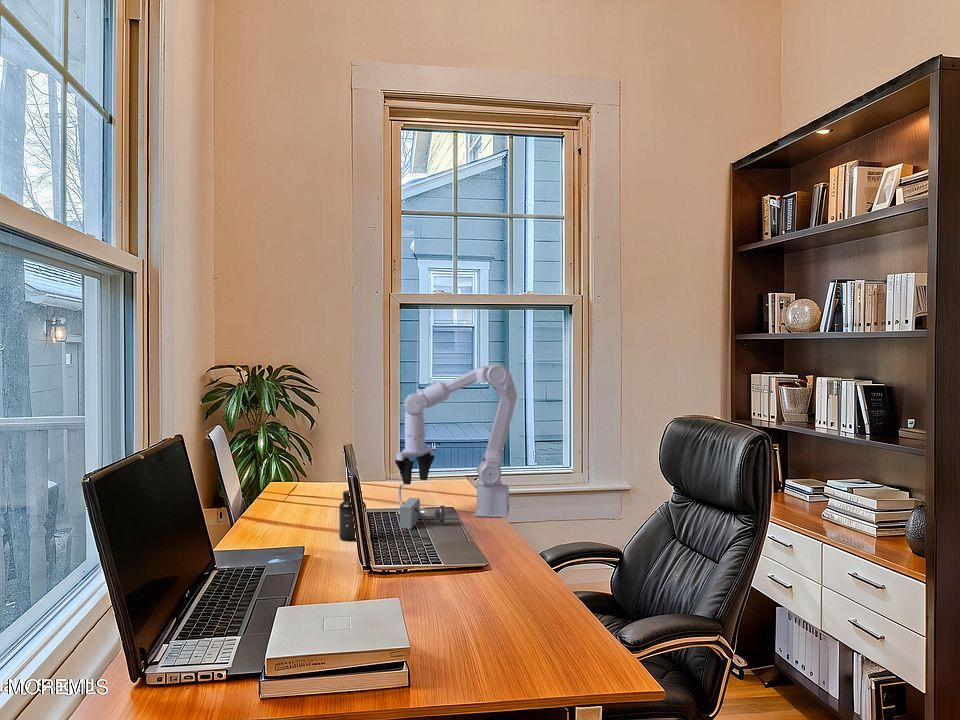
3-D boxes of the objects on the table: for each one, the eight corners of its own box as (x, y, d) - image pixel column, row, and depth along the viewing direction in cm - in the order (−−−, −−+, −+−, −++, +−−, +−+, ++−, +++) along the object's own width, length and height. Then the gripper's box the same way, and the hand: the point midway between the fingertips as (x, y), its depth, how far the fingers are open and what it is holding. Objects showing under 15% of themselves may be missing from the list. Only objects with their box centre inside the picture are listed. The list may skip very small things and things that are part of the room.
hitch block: (419, 519, 208) (419, 498, 208) (410, 529, 196) (410, 507, 196) (409, 518, 209) (409, 497, 209) (399, 529, 197) (399, 507, 197)
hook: (413, 501, 233) (431, 524, 214) (384, 503, 229) (400, 527, 211) (414, 478, 232) (432, 500, 213) (385, 481, 228) (401, 503, 210)
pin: (445, 520, 204) (445, 503, 204) (442, 524, 199) (442, 507, 199) (413, 519, 205) (413, 503, 205) (410, 523, 200) (410, 506, 200)
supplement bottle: (333, 539, 187) (333, 492, 186) (350, 533, 193) (350, 488, 193) (355, 542, 184) (355, 495, 183) (371, 536, 190) (371, 490, 189)
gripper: (419, 431, 220) (420, 476, 220) (387, 437, 208) (388, 484, 208) (438, 433, 216) (438, 479, 216) (406, 438, 204) (407, 487, 204)
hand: (415, 482), depth 212 cm, fingers open, 7 cm apart
